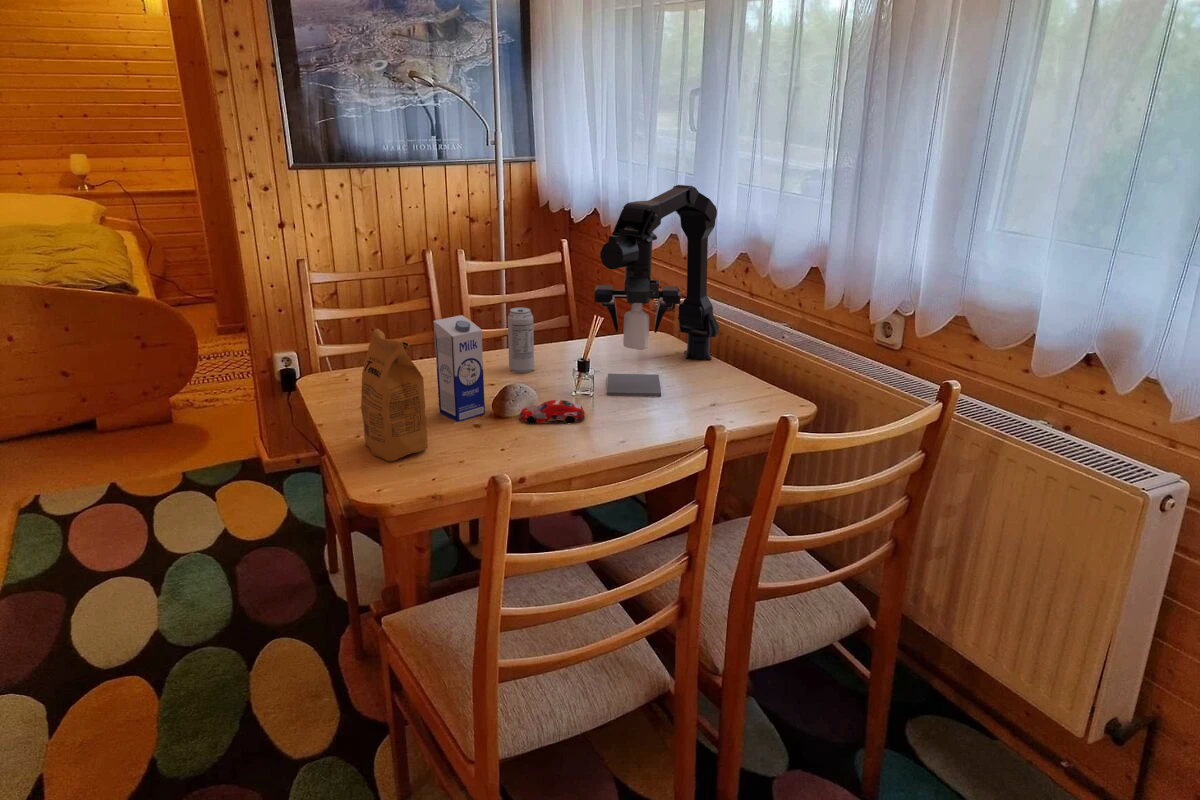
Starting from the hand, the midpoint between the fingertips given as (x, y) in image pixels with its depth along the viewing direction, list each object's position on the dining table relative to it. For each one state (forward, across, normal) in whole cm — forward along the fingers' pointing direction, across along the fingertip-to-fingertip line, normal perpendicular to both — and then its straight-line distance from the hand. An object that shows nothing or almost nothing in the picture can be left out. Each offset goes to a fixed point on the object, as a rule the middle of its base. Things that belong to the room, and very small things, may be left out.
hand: (636, 332), depth 174 cm
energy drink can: (+13, -27, +10) cm, 32 cm away
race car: (+13, -17, -21) cm, 30 cm away
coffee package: (+13, -45, -37) cm, 60 cm away
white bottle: (+4, 0, 0) cm, 4 cm away
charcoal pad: (+13, 0, 0) cm, 13 cm away
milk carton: (+13, -36, -19) cm, 43 cm away
